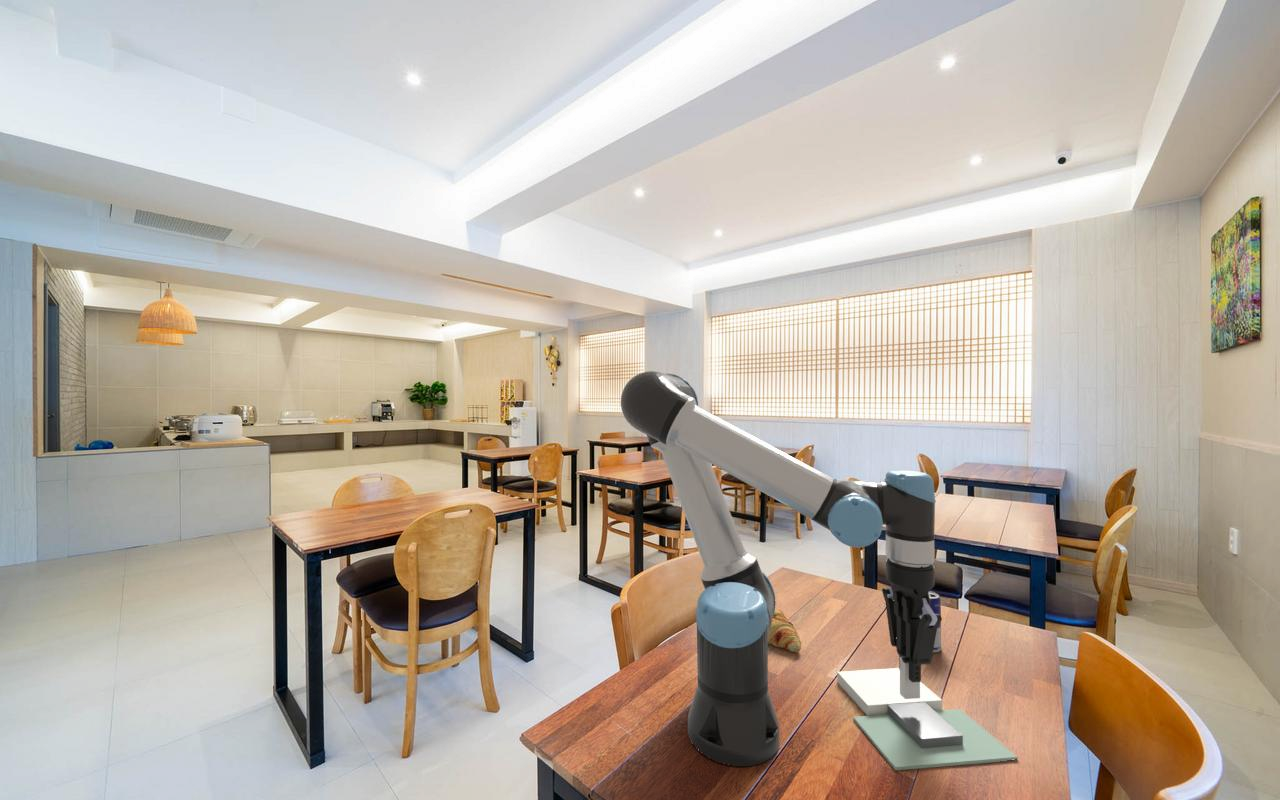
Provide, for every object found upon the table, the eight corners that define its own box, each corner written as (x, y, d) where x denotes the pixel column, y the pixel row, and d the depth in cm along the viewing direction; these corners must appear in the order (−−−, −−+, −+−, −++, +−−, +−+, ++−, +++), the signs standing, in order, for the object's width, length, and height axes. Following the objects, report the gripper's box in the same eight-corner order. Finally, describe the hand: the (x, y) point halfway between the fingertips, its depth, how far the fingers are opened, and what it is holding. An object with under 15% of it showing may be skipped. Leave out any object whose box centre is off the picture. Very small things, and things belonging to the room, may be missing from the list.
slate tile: (921, 748, 78) (921, 739, 78) (887, 713, 87) (887, 704, 87) (962, 745, 79) (962, 735, 79) (924, 710, 88) (924, 701, 88)
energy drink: (945, 654, 108) (944, 599, 108) (918, 652, 109) (918, 597, 109) (935, 642, 113) (935, 590, 113) (910, 640, 114) (909, 588, 114)
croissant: (809, 669, 109) (823, 634, 110) (777, 656, 105) (791, 620, 107) (751, 628, 128) (763, 598, 130) (722, 616, 125) (735, 586, 126)
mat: (895, 770, 74) (895, 767, 74) (853, 719, 86) (853, 716, 86) (1017, 760, 76) (1017, 756, 76) (960, 711, 88) (960, 709, 88)
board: (868, 716, 87) (867, 705, 87) (837, 681, 98) (837, 671, 98) (942, 711, 88) (942, 700, 88) (903, 677, 99) (903, 667, 99)
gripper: (957, 572, 80) (957, 718, 80) (906, 548, 93) (906, 674, 92) (913, 574, 79) (913, 721, 79) (868, 549, 92) (868, 676, 92)
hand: (909, 695), depth 86 cm, fingers closed
